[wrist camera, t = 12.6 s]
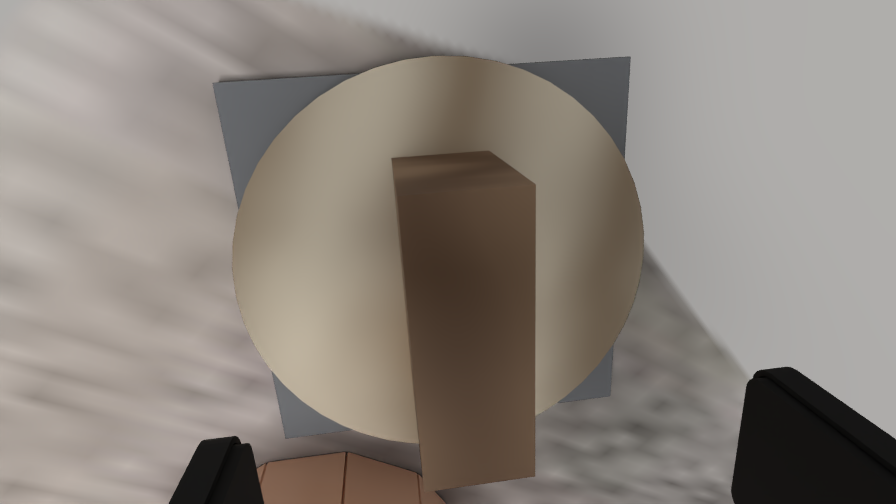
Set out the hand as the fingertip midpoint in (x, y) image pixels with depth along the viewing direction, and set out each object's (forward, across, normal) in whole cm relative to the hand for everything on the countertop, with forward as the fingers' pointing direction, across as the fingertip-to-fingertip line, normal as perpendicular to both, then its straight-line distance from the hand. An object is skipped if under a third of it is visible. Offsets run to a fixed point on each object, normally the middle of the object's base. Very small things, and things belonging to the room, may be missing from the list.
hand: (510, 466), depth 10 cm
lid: (+9, 0, -1) cm, 9 cm away
